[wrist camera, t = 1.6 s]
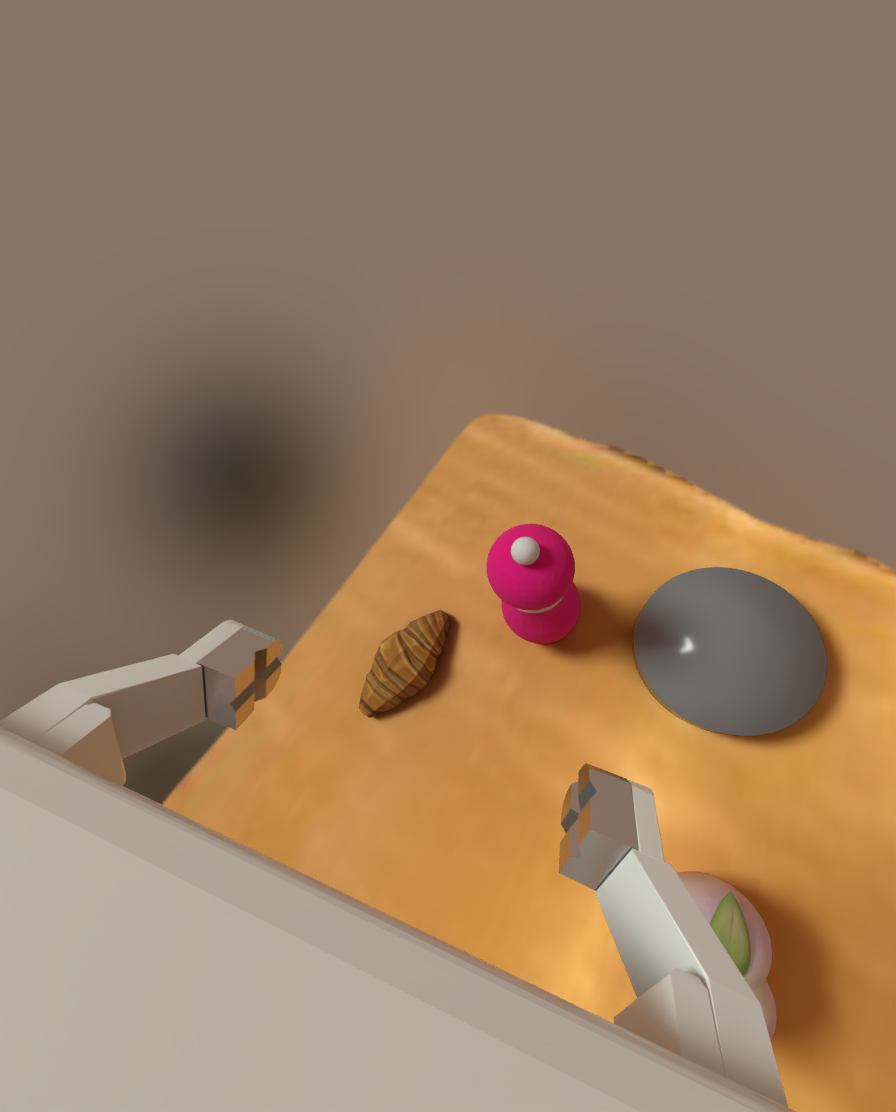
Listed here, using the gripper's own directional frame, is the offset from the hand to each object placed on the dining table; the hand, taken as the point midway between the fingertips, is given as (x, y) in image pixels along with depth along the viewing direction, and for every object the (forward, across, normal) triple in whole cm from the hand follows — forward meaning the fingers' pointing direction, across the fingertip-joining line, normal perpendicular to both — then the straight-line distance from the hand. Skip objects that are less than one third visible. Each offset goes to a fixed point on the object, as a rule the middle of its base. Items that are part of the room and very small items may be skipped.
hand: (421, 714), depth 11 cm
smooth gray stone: (+29, -21, +12) cm, 38 cm away
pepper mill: (+31, -6, +16) cm, 35 cm away
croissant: (+27, +5, +25) cm, 37 cm away
